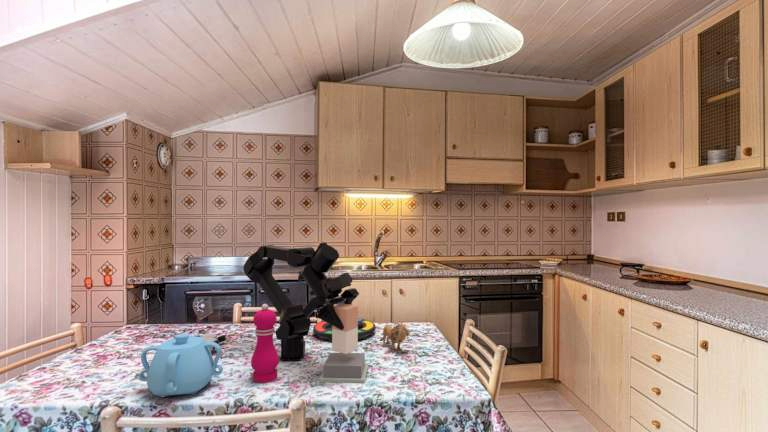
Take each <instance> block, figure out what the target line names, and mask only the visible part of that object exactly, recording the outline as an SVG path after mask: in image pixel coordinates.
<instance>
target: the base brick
mask: <svg viewBox="0 0 768 432" xmlns="http://www.w3.org/2000/svg"><path fill="white" fill-rule="evenodd" d="M365 355H366V353H365V352H361V353H360V352H350V353H348V354H344V353H340V352H330V353H329V355H328V356H327V358H326V360H325V362H324V364H323V369H322V373H321V374H320V376H319V378H318V383H340V384H341V383H343V384H344V383H345V384H346V383H347V384H348V383H349V384H365V382H366V378H367V374H368V370H369V364H370V363H369V362H366V356H365Z"/></svg>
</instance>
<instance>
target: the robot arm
mask: <svg viewBox="0 0 768 432" xmlns="http://www.w3.org/2000/svg"><path fill="white" fill-rule="evenodd" d="M339 257H340V253H339V251H338V250H337V249H336V248H334V247H333V246H331V245H328V243H327V242H320V243H319V244H318V247H317V248H316V249H315V248H314V247H311V246H307V247H294V248H289V247H285V246H284V247H282V246H276V245H273V244H267V245H266V244H265V245H261V246H260V247H258V249H257V250H256V251H255V252H254V253H251V255H250V256H249V257H248V258H247V259H246V261H245V263H244V265H243V268H242V270H243V273H244V274H245V276H246V277H247V278H248V279H249V280H250V281H252V282H254V283H256V284H258V286H260V288H261V289H262V290H263V293H264V294H265V295H266V297H267V298H268V300H269V301H270V302H271V304H272V306H273V307H274V308H275V310H276V311H277V313H278V314H279V319H278V320H279V321H278V322H279V323H278V324H279V327H277V329H276V331H275V332H274V333H275V337H276V340H279V341H280V357H279V361H292V362H293V361H295V362H296V361H299V362H300V361H302V359H303V357H304V356H305V355H306V340H304V338H305V337H306V336H309V333H310V329H311V323H312V322H311V321H312V320H311V319H312V318H314V317H315V319H319V320H322V321H325V322H327V323H329V324H331V325H333V326H335V327H337V328H338V329H340V330H343V329H344V326H343V324H342V322H341V320H340V319H339V317H338V315H337V314H336V312H335V310H334V306H337V305H340V304H350V305H353V304H352V303H353V302H354V300H355V299H356V298H357V297H358V296H359V295H360V293H359V291H358V289H357V288H356V287H354V288H353V287H352V288H351V286H352V283H353V277H352V276H351V275H350V273H348V272H343V273H341V274H340V276H337V277H334V278H332V277H329V278H328V277H327V274H326V273H328V272H329V271H330V270H331V269H332V268H333V266H334V264H336V262H337V261H338V259H339ZM275 260H277V261H282V262H286V263H287V265H288V266H291V268H295V269H296V268H297V269H298V268H303V269H302V270H299V272H298V277H297V281H299V282H301V281H305V283H306V285H308V287H309V289H310V290H311V291H309V295H310V296H314V297H312V298H310V300H309V301H308V302H307V303H306V305H305V306H303V305H302V304H298V305H294V304H293V302H291V300H290V298H289V296H287V294H286V292H285V291H284V289H282V287H281V286H280V284H279V283H278V281H277V280H276V279H275V277H274V276H273V271H274V270H273V266H274V264H275ZM347 287H350V288H348V289H345V290H343V289H344V288H347ZM315 311H316V312H315ZM316 313H317V314H316ZM315 314H316V315H315Z"/></svg>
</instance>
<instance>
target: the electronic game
mask: <svg viewBox="0 0 768 432" xmlns="http://www.w3.org/2000/svg"><path fill="white" fill-rule="evenodd" d="M312 327H313V329H312V332H313V333H314V334H315V335H316V336H318V337H319V338H321V339H323V340H326V341H331V342H332V325H331V324H329V323H327V322H325V321H323V320H322V321H319V322H317V323H316V324H314V326H312ZM375 330H376V324H375V323H374V322H373V321H371V320H368V319H364V318H358V340H361V339H364V338H367V337H368V336H370V335H371V334H373V333H374V332H375Z"/></svg>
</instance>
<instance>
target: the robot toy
mask: <svg viewBox="0 0 768 432" xmlns="http://www.w3.org/2000/svg"><path fill="white" fill-rule="evenodd" d="M194 337H202V338H203V339H204V340H205V342H206V343H207V342H215V343H217V344H218V345H219V346H220V343H223V342H226V340H228V339H229V336H226V335H219V336H218V335H217V334H216V333H203V334H202V335H196V336H194ZM208 347H209V349H210V352H211V353H212V351H214V350H216V348H214V347H212V346H208Z"/></svg>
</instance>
